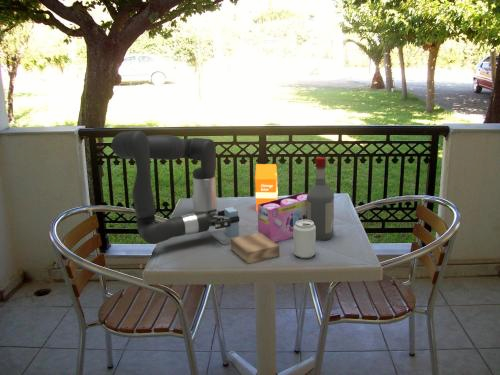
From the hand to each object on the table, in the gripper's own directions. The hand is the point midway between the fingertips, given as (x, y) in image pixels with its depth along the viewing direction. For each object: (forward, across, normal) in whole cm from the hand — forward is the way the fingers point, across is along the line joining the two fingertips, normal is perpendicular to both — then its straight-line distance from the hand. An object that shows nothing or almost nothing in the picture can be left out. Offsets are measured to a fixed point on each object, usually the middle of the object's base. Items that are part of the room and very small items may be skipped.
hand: (234, 215), depth 197 cm
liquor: (+27, -18, +8) cm, 33 cm away
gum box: (+18, -10, +8) cm, 22 cm away
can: (+13, -29, +8) cm, 33 cm away
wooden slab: (-1, -19, +8) cm, 21 cm away
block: (-1, 0, +8) cm, 8 cm away
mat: (-1, 0, +8) cm, 8 cm away
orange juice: (+25, +20, +8) cm, 33 cm away
